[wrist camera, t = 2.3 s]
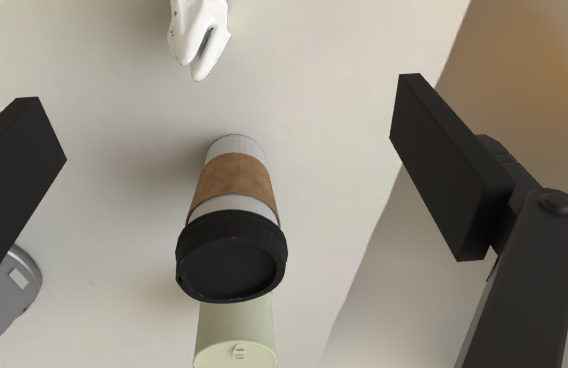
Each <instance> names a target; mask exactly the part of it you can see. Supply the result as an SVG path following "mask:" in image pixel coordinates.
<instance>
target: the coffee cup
mask: <svg viewBox="0 0 568 368" xmlns="http://www.w3.org/2000/svg"><path fill="white" fill-rule="evenodd" d="M280 228H281V226H280V219H279V215H278V211H277V207H276V202H275V198H274V194H273V190H272V186H271V181H270V177H269V174H268V170H267V165H266V159H265V155H264V152H263V150H262V148H261V147H260V145H259V144H258V143H257V142H256V141H254V140H252V139H251V138H248V137H246V136H242V135H228V136H225V137H222V138H220V139H218V140H217V141H215V142H214V143H213V144H212V145H211V147H210V148H209V150H208V153H207V156H206V160H205V164H204V167H203V170H202V172H201V175H200V179H199V182H198V185H197V188H196V191H195V194H194V197H193V200H192V203H191V206H190V209H189V212H188V216H187V219H186V224H185V228H184V229H183V230H182V232H181V234H180V236H179V237H178V242H177V247H176V251H175V255H176V282H177V283H178V285H179V286H180V287H181V288H182V290H183V291H184V292H185V293H186V294H188V295H189V296H190V297H192V298H194V299H196V300H198V301H202V302H206V303H213V304H230V303H239V302H245V301H249V300H252V299H256V298H258V297H261V296H263V295H265V294H267V293H269V292H271V291H272V290H273V289H274V288H276V287H277V286H278V284H279V283H280V282H281V281H282V279H283V277H284V273H285V267H286V262H287V257H288V249H287V243H286V238H285V236H284V234H283V232H282V231H281V229H280Z"/></svg>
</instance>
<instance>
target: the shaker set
mask: <svg viewBox="0 0 568 368" xmlns="http://www.w3.org/2000/svg"><path fill="white" fill-rule="evenodd" d="M170 5H171V15H172V20H171V23H170V27H169V30H168V34H167V42H168V45H169V48H170V50H171V52H172V54H173V55H174V57H175V59H176V60H177V61H178V62H179V64H180V65H182V66H185V65H187V64H189V63H190V68H191V75H192V78H193V80H194V81H196V82H199V81H201V80H202V79H204V78H205V77H206V76H207V74H208V73H209V72H210V71H211V69H212V68H213V66H214V65H215V63H216V62H217V60H218V58H219V57H220V55H221V53H222V51H223V49H224V48H225V45H226V43H227V41H228V39H229V37H230V36H231V34H230V32H228V30H227V27H226V24H227V12H228V5H227V2H226V0H170ZM208 28H210V29H211V28H213V30H210V29H209V30H210V31H209V30H208V31H207V29H208Z"/></svg>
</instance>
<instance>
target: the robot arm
mask: <svg viewBox="0 0 568 368" xmlns="http://www.w3.org/2000/svg"><path fill="white" fill-rule="evenodd" d="M389 139H390V140H391V142H392V144H393V146H394V148H395V150H396V151H397V153H398V155H399V157H400V159H401V161H402V162H403V164H404V166H405V168H406V170H407V171H408V173H409V175H410V177H411V179H412V181H413V182H414V184H415V186H416V188H417V190H418V191H419V193H420V195H421V197H422V199H423V201H424V203H425V204H426V206H427V208H428V210H429V212H430V213H431V215H432V217H433V219H434V221H435V223H436V224H437V226H438V228H439V230H440V232H441V233H442V235H443V237H444V239H445V241H446V243H447V244H448V246H449V248H450V250H451V252H452V254H453V255H454V257H455V259H456V261H457V262H462V261H475V260H484V258H485V256H486V253H487V251H488V249H489V246H490V245H491V246H492V248H493V249H494V251H495V252H496V254H497V255H498V257H497V259H496V261H495V263H494V266H493V267H492V270H491V272H490V274H489V276H488V278H487V280H486V282H487V284H486V286H485V289H484V292H483V294H482V296H481V299H480V302H479V304H478V307H477V309H476V312H475V314H474V317H473V320H472V322H471V325H470V328H469V330H468V332H467V335H466V338H465V340H464V343H463V345H462V348H461V350H460V353H459V356H458V358H457V361H456V363H455V366H454V368H561V365H562V359H563V354H564V348H565V342H566V337H567V331H568V194H567V193H564V192H562V191H560V190H555V189H550V188H543V187H542V186H541V185H540V184H539V183H538V182H537V181H536V180H535V179H534V178H533V177H532V176H531V175H530V174H529V173H528V172H527V171H526V169H524V167H523V166H522V165H521V164H520V163H518V162H517V160H516V159H515V158H514V157H513V156H512V155H511V154H509V152H508V151H507V150H506V149H505V148H504V147H503V145H502V144H501V143H500V142H498V141H496V140H494V139H493V138H491V137H489V136H487V135H486V134H479V135H474V134H473V133H472V132H471V130H470V129H469V128H468V127H467V126H466V125H465V124H464V123H463V122H462V120H461V119H460V118H459V117H458V116H457V115H456V113H455V112H454V111H453V110H452V109H451V108H450V107H449V106H448V104H447V103H446V102H445V101H444V100H443V99H442V98H441V97H440V96H439V95H438V93H437V92H436V91H435V90H434V89H433V88H432V86H431V85H430V84H429V83H428V82H427V81H426V80H425V79H424V77H423V76H422V75H421V74H420V73H413V74H399V79H398V86H397V92H396V98H395V105H394V111H393V117H392V124H391V130H390V136H389ZM66 161H67V158H66V156H65V154H64V152H63V150H62V147H61V145H60V143H59V141H58V139H57V137H56V134H55V132H54V130H53V128H52V126H51V124H50V121H49V119H48V117H47V115H46V113H45V111H44V108H43V106H42V104H41V102H40V100H39V98H38V97H23V98H16V99H15V100H13V101H12V102H11V103H10V104H9V105H8V106H7V107H6V108H5V109H4V110H3V111H2V112H1V113H0V336H1V335H2V334H3V333H4V332H5V331H6V329H7V328H8V327H9V326H10V325H11V324H12V322H13V321H14V320H15V319H16V318H17V317H19V316H20V315H22V314H23V313H24V312H25V311H26V310H27V309H28V308H29V307H30V306H31V304H32V303H33V302H34V300H35V298H36V296H37V294H38V292H39V290H40V288H41V285H42V277H41V273H40V271H39V269H38V267H37V265H36V264H35V263H34V261H33V260H32V259H31V258H30V257H29V256H28V255H27V254H26V253H25V252H23V251H22V250H21V249H19V248H18V247H17V246H15V245H13V244H14V242H15V240H16V239H17V237H18V236H19V234H20V233H21V231H22V230H23V228H24V226H25V225H26V223H27V222H28V220H29V219H30V217H31V216H32V214H33V212H34V211H35V209H36V208H37V206H38V205H39V203H40V202H41V200H42V198H43V197H44V195H45V194H46V192H47V191H48V189H49V188H50V186H51V184H52V183H53V181H54V180H55V178H56V177H57V175H58V174H59V172H60V170H61V169H62V167H63V166H64V164H65V163H66Z"/></svg>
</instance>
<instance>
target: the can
mask: <svg viewBox="0 0 568 368" xmlns="http://www.w3.org/2000/svg"><path fill="white" fill-rule="evenodd" d="M276 363H277V357H276V351H275V338H274V325H273V308H272V291H271V292H269V293H267V294H265V295H263V296H261V297H258V298H256V299H252V300H249V301H245V302H239V303H230V304H213V303H206V302H202V301H201V302H200V311H199V321H198V329H197V337H196V346H195V353H194V358H193V367H194V368H274V367H275V366H276Z"/></svg>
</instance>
